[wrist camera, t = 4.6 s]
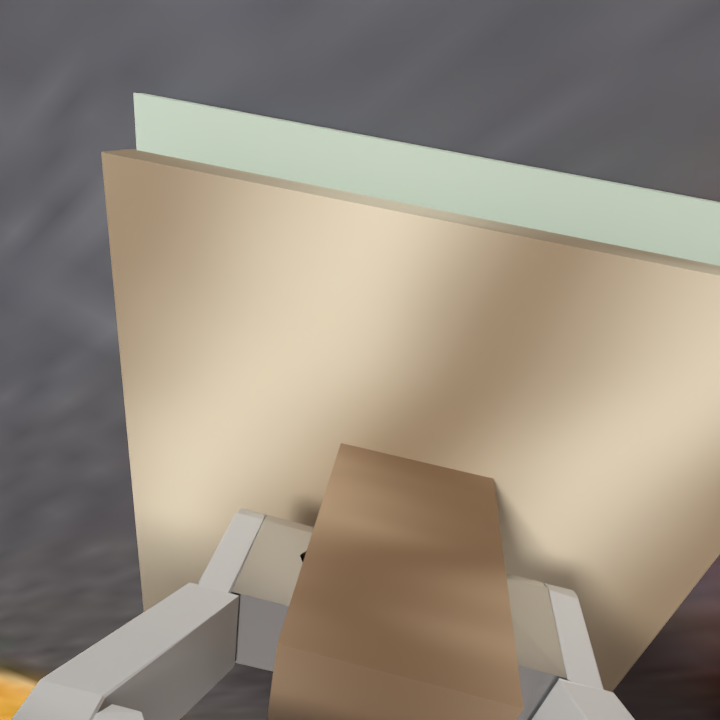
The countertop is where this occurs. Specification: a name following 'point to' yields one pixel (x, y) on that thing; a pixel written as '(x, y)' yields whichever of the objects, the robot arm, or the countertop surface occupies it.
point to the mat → (432, 178)
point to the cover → (412, 426)
